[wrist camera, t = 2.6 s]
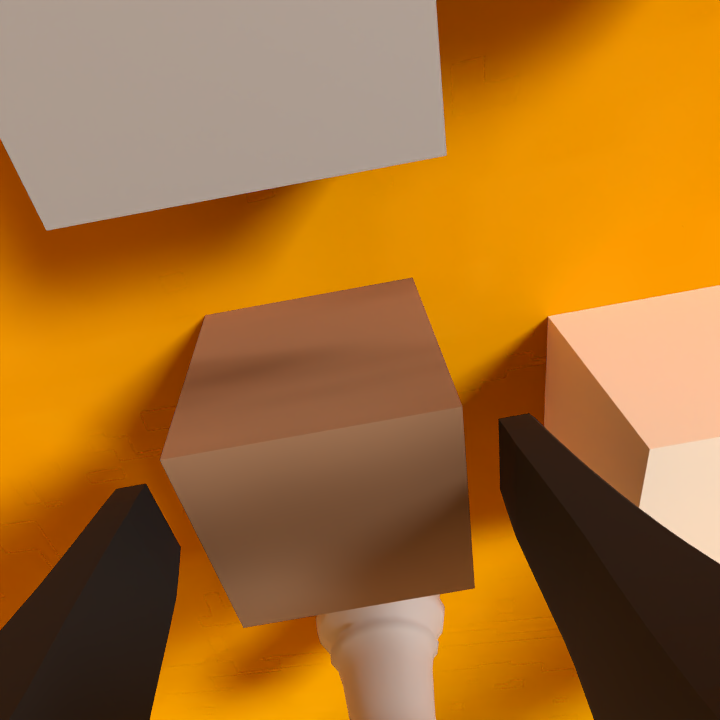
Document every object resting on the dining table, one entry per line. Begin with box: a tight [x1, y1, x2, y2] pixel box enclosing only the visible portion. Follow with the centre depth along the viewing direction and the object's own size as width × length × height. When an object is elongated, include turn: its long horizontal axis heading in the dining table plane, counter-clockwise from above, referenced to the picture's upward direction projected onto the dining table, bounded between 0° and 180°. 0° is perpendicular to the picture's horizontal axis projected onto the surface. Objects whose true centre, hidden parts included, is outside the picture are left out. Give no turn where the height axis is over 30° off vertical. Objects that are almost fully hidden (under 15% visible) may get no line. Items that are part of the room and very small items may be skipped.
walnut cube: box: [160, 278, 475, 628], centre depth 12 cm, size 5×5×5 cm
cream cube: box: [544, 285, 720, 564], centre depth 13 cm, size 5×5×5 cm
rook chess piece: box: [316, 594, 444, 720], centre depth 16 cm, size 4×4×8 cm
